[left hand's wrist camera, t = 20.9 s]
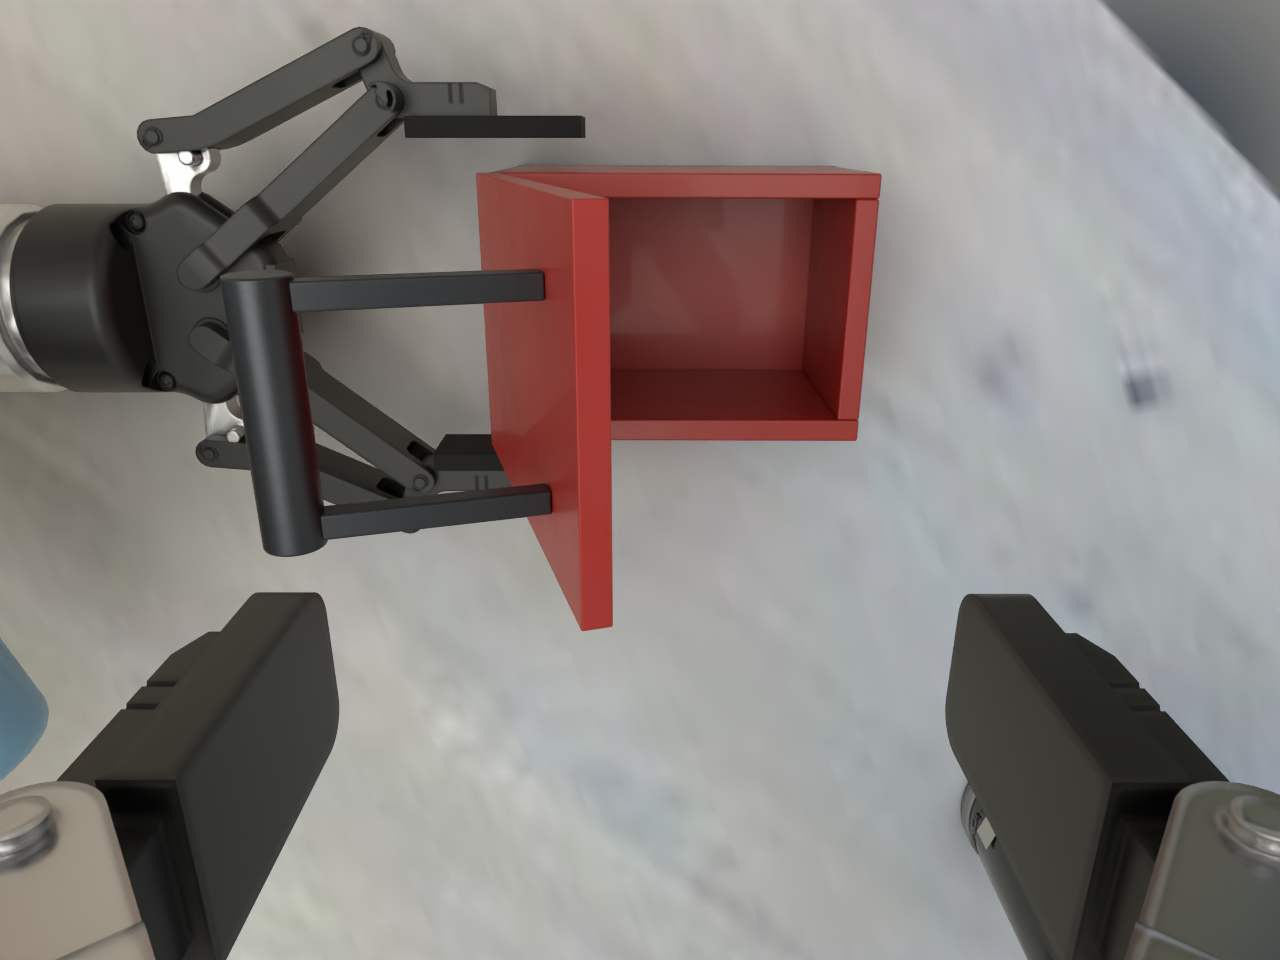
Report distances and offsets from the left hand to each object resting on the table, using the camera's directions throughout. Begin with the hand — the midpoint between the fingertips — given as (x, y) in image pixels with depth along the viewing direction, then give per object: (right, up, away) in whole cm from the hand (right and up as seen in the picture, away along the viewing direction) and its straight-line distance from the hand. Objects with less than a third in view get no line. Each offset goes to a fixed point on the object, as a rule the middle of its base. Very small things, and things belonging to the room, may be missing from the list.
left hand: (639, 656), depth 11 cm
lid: (-3, +6, +16) cm, 17 cm away
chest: (+2, +12, +31) cm, 34 cm away
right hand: (-2, +10, +25) cm, 27 cm away
